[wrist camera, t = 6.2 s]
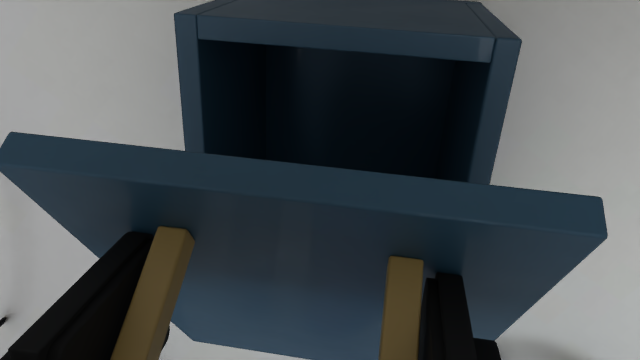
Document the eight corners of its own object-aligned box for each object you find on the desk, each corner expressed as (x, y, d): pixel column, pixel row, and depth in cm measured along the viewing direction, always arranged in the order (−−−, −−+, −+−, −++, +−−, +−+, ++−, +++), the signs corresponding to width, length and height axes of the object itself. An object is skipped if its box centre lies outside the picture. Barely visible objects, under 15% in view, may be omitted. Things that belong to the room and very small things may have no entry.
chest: (254, -14, 25) (173, 13, 16) (480, 2, 24) (522, 39, 15) (257, 216, 31) (199, 324, 22) (437, 239, 30) (449, 363, 21)
